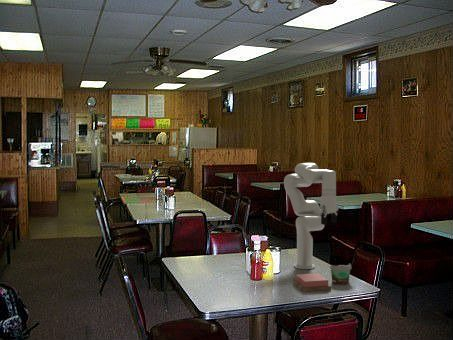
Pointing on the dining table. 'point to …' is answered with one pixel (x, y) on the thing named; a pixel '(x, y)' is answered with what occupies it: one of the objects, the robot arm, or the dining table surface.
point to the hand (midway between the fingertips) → (328, 223)
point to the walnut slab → (312, 289)
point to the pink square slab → (311, 280)
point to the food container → (340, 273)
